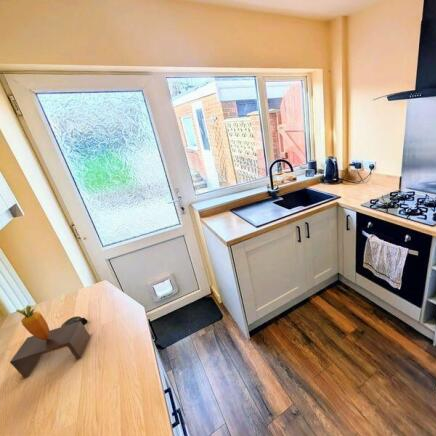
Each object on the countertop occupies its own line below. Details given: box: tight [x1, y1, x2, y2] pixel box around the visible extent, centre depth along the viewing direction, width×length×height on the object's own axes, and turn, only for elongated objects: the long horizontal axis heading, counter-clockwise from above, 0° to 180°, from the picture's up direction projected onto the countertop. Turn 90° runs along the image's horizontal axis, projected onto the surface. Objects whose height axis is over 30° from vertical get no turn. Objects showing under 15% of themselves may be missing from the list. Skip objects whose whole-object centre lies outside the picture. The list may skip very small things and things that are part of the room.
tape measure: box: [60, 316, 88, 327], centre depth 98 cm, size 7×7×4 cm
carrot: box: [15, 304, 50, 340], centre depth 81 cm, size 5×5×15 cm
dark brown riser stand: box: [9, 321, 91, 379], centre depth 86 cm, size 16×10×8 cm, turn 111°
